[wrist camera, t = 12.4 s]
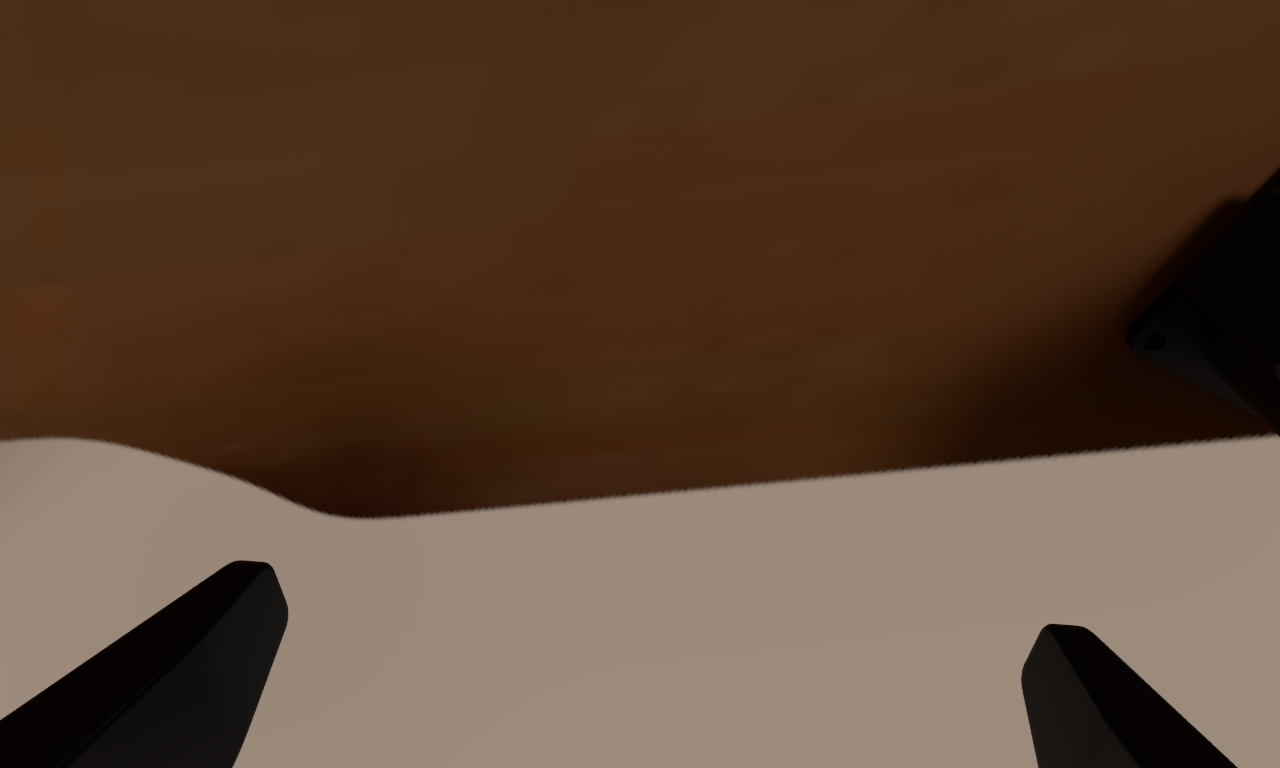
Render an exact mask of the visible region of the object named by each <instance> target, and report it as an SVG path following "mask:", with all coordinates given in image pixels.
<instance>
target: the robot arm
mask: <svg viewBox="0 0 1280 768" xmlns="http://www.w3.org/2000/svg"><path fill="white" fill-rule="evenodd" d="M1155 333H1158V335H1157V336H1156V338H1155V339H1153V340H1152V341H1150V342H1145V343H1143V342H1144V340H1145V339H1146V337H1148V336H1149V335H1151V334H1155ZM1125 340H1126V343H1127V345H1128V346H1129V348H1130V349H1131V350H1132V351H1133V352H1134V353H1135V354H1136V355H1137V356H1138V357H1140V358H1142V359H1144V360H1146V361H1148V362H1150V363H1152V364H1154V365H1156V366H1158V367H1160V368H1162V369H1164V370H1166V371H1168V372H1170V373H1172V374H1174V375H1176V376H1178V377H1180V378H1182V379H1184V380H1186V381H1188V382H1190V383H1192V384H1194V385H1196V386H1197V387H1199V388H1201V389H1203V390H1205V391H1207V392H1209V393H1211V394H1213V395H1215V396H1217V397H1219V398H1221V399H1223V400H1225V401H1227V402H1229V403H1231V404H1233V405H1235V406H1237V407H1239V408H1241V409H1243V410H1245V411H1247V412H1249V413H1251V414H1253V415H1255V416H1257V417H1259V418H1261V419H1263V420H1264V421H1265V422H1266V423H1267V424H1268V425H1269V426H1270V427H1271V428H1272V429H1273V430H1274V431H1275V432H1276V433H1277V434H1278V435H1279V436H1280V178H1279V179H1278V180H1277V181H1276V182H1275V183H1274V184H1273V185H1272V186H1271V187H1270V188H1269V189H1268V190H1267V191H1266V192H1265V193H1263V194H1262V195H1261V196H1260V197H1259V198H1258V199H1257V200H1256V201H1255V202H1254V203H1253V204H1252V205H1251V206H1250V207H1249V208H1248V209H1247V210H1246V211H1245V212H1244V213H1243V214H1242V215H1241V216H1240V217H1239V218H1238V219H1237V220H1236V221H1235V222H1234V223H1233V224H1232V225H1231V226H1230V227H1229V228H1228V229H1227V230H1226V231H1225V232H1224V233H1223V234H1222V235H1221V236H1220V237H1219V238H1218V239H1217V240H1216V241H1215V242H1214V243H1213V244H1212V245H1211V246H1210V247H1209V248H1208V249H1207V250H1206V251H1205V252H1204V253H1203V254H1202V255H1201V256H1200V257H1199V258H1198V259H1197V260H1196V261H1195V262H1194V263H1193V264H1192V265H1191V266H1190V267H1189V268H1188V269H1187V270H1186V271H1185V272H1184V273H1183V274H1182V275H1181V276H1180V278H1179V279H1178V280H1177V281H1176V282H1175V283H1174V284H1173V285H1172V286H1171V287H1170V288H1169V289H1168V290H1167V291H1166V292H1165V293H1164V294H1163V295H1162V296H1161V297H1160V298H1159V299H1158V300H1157V301H1156V302H1155V303H1154V304H1153V305H1152V306H1151V307H1150V308H1149V309H1148V310H1147V311H1146V312H1145V313H1144V314H1143V315H1142V316H1141V317H1140V318H1139V319H1138V320H1137V321H1136V322H1135V323H1134V324H1133V325H1132V326H1131V327H1130V328H1129V330H1128V331H1127V333H1126V338H1125ZM287 621H288V606H287V603H286V600H285V598H284V595H283V592H282V590H281V587H280V584H279V582H278V579H277V577H276V574H275V571H274V569H273V568H272V567H271V566H270V565H269V564H268V563H265V562H255V561H234V562H232V563H229V564H228V565H226V566H224V567H223V568H221V569H220V570H218V571H217V572H216V573H214V574H213V575H211V576H210V577H208V578H207V579H205V580H204V581H202V582H201V583H200V584H198V585H197V586H195V587H194V588H192V589H191V590H189V591H188V592H187V593H185V594H183V595H182V596H181V597H179V598H178V599H176V600H175V601H173V602H172V603H170V604H169V605H168V606H166V607H165V608H163V609H162V610H160V611H159V612H157V613H156V614H154V615H153V616H152V617H150V618H149V619H147V620H146V621H144V622H143V623H141V624H140V625H138V626H137V627H135V628H134V629H133V630H131V631H130V632H128V633H127V634H125V635H124V636H122V637H121V638H119V639H118V640H116V641H115V642H114V643H112V644H111V645H109V646H108V647H106V648H105V649H103V650H102V651H100V652H99V653H98V654H96V655H95V656H93V657H92V658H90V659H89V660H87V661H86V662H84V663H83V664H81V665H80V666H79V667H77V668H76V669H74V670H73V671H71V672H70V673H68V674H67V675H65V676H64V677H63V678H61V679H60V680H58V681H57V682H55V683H54V684H52V685H51V686H49V687H48V688H46V689H45V690H44V691H42V692H41V693H39V694H38V695H36V696H35V697H33V698H32V699H31V700H29V701H27V702H26V703H25V704H23V705H22V706H20V707H19V708H17V709H16V710H14V711H13V712H12V713H10V714H9V715H7V716H6V717H4V718H3V719H1V720H0V768H232V767H233V765H234V763H235V761H236V758H237V756H238V754H239V752H240V750H241V747H242V745H243V742H244V740H245V737H246V735H247V732H248V730H249V727H250V725H251V722H252V719H253V716H254V713H255V711H256V708H257V705H258V702H259V700H260V697H261V694H262V691H263V689H264V686H265V684H266V681H267V678H268V675H269V672H270V670H271V667H272V664H273V662H274V659H275V656H276V654H277V651H278V648H279V645H280V643H281V640H282V637H283V634H284V631H285V629H286V626H287ZM1021 682H1022V690H1023V695H1024V700H1025V705H1026V709H1027V714H1028V719H1029V724H1030V729H1031V734H1032V738H1033V744H1034V748H1035V753H1036V758H1037V763H1038V767H1039V768H1237V767H1236V766H1235V765H1234V764H1233V763H1232V762H1231V761H1230V760H1229V759H1228V758H1227V757H1226V756H1224V755H1223V754H1222V753H1221V752H1220V751H1219V750H1218V749H1217V748H1216V747H1215V746H1214V745H1212V743H1211V742H1210V741H1208V740H1207V739H1206V738H1205V737H1204V736H1203V735H1202V734H1201V733H1200V732H1199V731H1198V730H1197V729H1195V727H1193V726H1192V725H1191V724H1190V723H1189V722H1188V721H1187V720H1186V719H1185V718H1184V717H1183V716H1182V715H1181V714H1180V713H1178V712H1177V711H1176V710H1175V709H1174V708H1173V707H1172V706H1171V705H1170V704H1169V703H1168V702H1167V701H1166V700H1165V699H1163V698H1162V697H1161V696H1160V695H1159V694H1158V693H1157V692H1156V691H1155V690H1154V689H1153V688H1152V687H1151V686H1150V685H1149V684H1147V683H1146V682H1145V681H1144V680H1143V679H1142V678H1141V677H1140V676H1139V675H1138V674H1137V673H1136V672H1135V671H1133V670H1132V669H1131V668H1130V667H1129V666H1128V665H1127V664H1126V663H1125V662H1124V661H1122V659H1121V658H1120V657H1118V656H1117V655H1116V654H1115V653H1114V652H1113V651H1112V650H1111V649H1110V648H1109V647H1108V646H1107V645H1105V643H1103V642H1102V641H1101V640H1100V639H1099V638H1098V637H1097V636H1096V635H1095V634H1094V633H1092V632H1091V631H1090V630H1088V629H1086V628H1084V627H1080V626H1074V625H1060V624H1049V625H1047V626H1045V627H1044V628H1043V629H1042V630H1041V632H1040V634H1039V636H1038V638H1037V640H1036V642H1035V644H1034V646H1033V648H1032V650H1031V652H1030V654H1029V656H1028V658H1027V660H1026V662H1025V664H1024V667H1023V670H1022V677H1021Z"/></svg>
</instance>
